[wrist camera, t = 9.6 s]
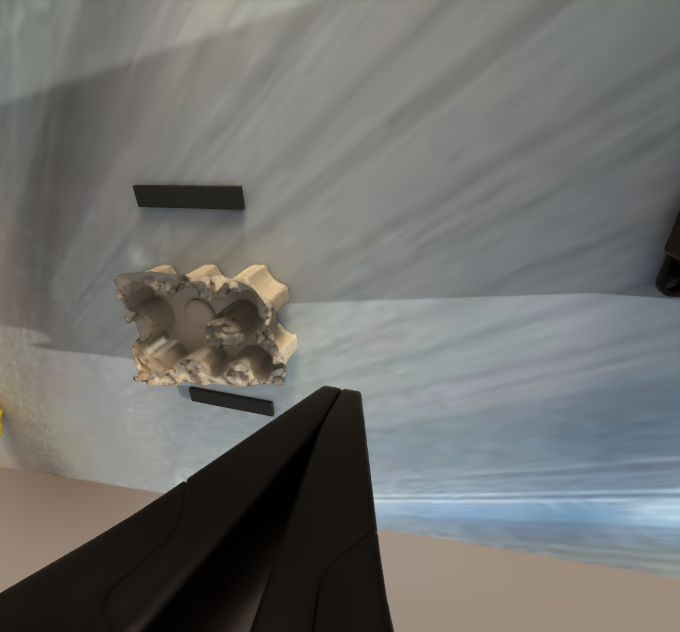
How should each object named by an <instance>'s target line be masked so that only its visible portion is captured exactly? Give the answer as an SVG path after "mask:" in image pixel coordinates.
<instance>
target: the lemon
mask: <svg viewBox="0 0 680 632" xmlns="http://www.w3.org/2000/svg"><path fill="white" fill-rule="evenodd" d="M2 414H3V411H2V410H1V409H0V435H1V432H2V421H1V417H2Z"/></svg>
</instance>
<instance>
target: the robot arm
mask: <svg viewBox="0 0 680 632" xmlns="http://www.w3.org/2000/svg"><path fill="white" fill-rule="evenodd" d="M665 251H666V252H667V256H666V258H665V261H664V263H663V266H662V268H661V271H660V273H659V276H658V278H657V281H656V288H657V289H658V290H659V291H660V292H662V293H663V294H664V295H666V296H670V297H680V211H679V213H678V216H677V218H676V221H675V223H674V226H673V228H672V231H671V233H670V236H669V238H668V241H667V243H666V246H665ZM673 280H678V281H677V284H676V285H675V286H673V287H670V288H667V285H668V284H669V283H670V282H671V281H673ZM0 632H394V630H393V625H392V620H391V616H390V611H389V606H388V602H387V597H386V590H385V584H384V578H383V570H382V564H381V557H380V548H379V540H378V534H377V525H376V516H375V507H374V499H373V490H372V482H371V473H370V465H369V456H368V448H367V439H366V431H365V422H364V413H363V405H362V396H361V393H360V392H359V391H354V390H348V389H344V390H341V389H340V388H336V387H330V386H323V387H321V388H320V389H318V390H317V391H315V392H314V393H312V394H311V395H309V396H308V397H306V398H305V399H303V400H302V401H301V402H299V403H298V404H296V405H295V406H293V407H292V408H290V409H289V410H287V411H286V412H284V413H283V414H281V415H280V416H279V417H277V418H276V419H274V420H273V421H271V422H270V423H268V424H267V425H265V426H264V427H262V428H261V429H260V430H258V431H257V432H255V433H254V434H252V435H251V436H249V437H248V438H246V439H245V440H243V441H242V442H240V443H239V444H238V445H236V446H235V447H233V448H232V449H230V450H229V451H227V452H226V453H224V454H223V455H221V456H220V457H218V458H217V459H216V460H214V461H213V462H211V463H210V464H208V465H207V466H205V467H204V468H202V469H201V470H199V471H198V472H197V473H195V474H194V475H192V476H191V477H189V478H188V479H187V482H182V483H180V484H179V485H177V486H176V487H174V488H173V489H171V490H170V491H168V492H167V493H166V494H164V495H163V496H161V497H159V498H158V499H156V500H155V501H153V502H152V503H150V504H149V505H147V506H146V507H144V508H143V509H141V510H140V511H138V512H137V513H135V514H134V515H132V516H130V517H129V518H127V519H125V520H124V521H122V522H120V523H119V524H117V525H115V526H114V527H112V528H110V529H109V530H108V531H105V532H104V533H102V534H101V535H99V536H97V537H96V538H94V539H92V540H90V541H89V542H87V543H86V544H84V545H82V546H80V547H78V548H77V549H75V550H73V551H72V552H70V553H68V554H66V555H65V556H63V557H61V558H60V559H58V560H56V561H55V562H53V563H51V564H49V565H48V566H46V567H44V568H42V569H41V570H39V571H37V572H36V573H34V574H32V575H30V576H29V577H27V578H25V579H23V580H22V581H20V582H18V583H17V584H15V585H13V586H11V587H10V588H8V589H6V590H5V591H3V592H2V593H0Z"/></svg>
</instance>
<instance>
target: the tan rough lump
mask: <svg viewBox="0 0 680 632" xmlns="http://www.w3.org/2000/svg"><path fill="white" fill-rule="evenodd" d="M114 281H115V283H116V286H117V299H118V300H122V301H123V303H124V306H125V308H126V315H125V317H124V319H125V321H126V322H127V323H130V322H132V321H133V320H135V322H136V325H137V327H138V330H139V332H140V334H141V337H140V338H138V339H137V340H136V342H135V343H134V345H133V348H132V353H133V358H134V360H135V363H136V364H137V371H138V376H137V377H134V379H133V380H135V381H138V382H147V383H146V384H150V385H154V384H159V385H161V386H166V385H167V386H170V385H175V386H176V385H179V384H181V383H183V382H193V383H197V384H199V385H207V384H210V383H212V384H228V385H231V386H234V387H238V386H250V385H256V384H267V383H270V382H272V383H274V384H276V385H285V383H284V378H285V376H286V373H287V371H286V366H285V364H286V363H287V361H288V360H289V358H290V357H291V356H292V355H293V353H294V352H295V351H296V350H297V349H298V346H297V340H296V338H297V336H296V334H293V333H290V332H289V331H286V330H285V329H284V328H283V327H282V325H281V324H280V323H279V322H278V319H277V312H278V311H279V310H280V309H281V308H282V307H283V306H284V305H285V304H286V303H287V302H289V294H288V288H287V286H286V285H283V284H281V283H279V282H278V281H276V280H275V279H274V278H273V277H272V276H271V275H270V273H269V271H268V268H267V266H266V265H252V266H250V267H248V268H247V269H245V270H244V271H242V272H241V273H240V274H238V275H236V276H235V277H234V278H232V279H230V278H228V277H225V276H223V275H222V273H221V272H220V270H219V269H218V267H217V265H203V266H201V267H199V268H198V269H196V270H194V271H192V272H190V273H189V274H185V275H184V274H177V273H176V271H175V270H174V268H173V267H172V266H171V265H162V266H156V267H154V268H152V269H150V270H148V271H146V272H138V273H126V274H120V275H118V276H117V277H116V278H115V279H114Z"/></svg>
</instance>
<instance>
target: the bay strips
mask: <svg viewBox="0 0 680 632" xmlns="http://www.w3.org/2000/svg"><path fill="white" fill-rule="evenodd" d="M133 189H134V192H135V196H136V200H137V203H138V206H139V207H168V208H202V209H237V210H243V209H245V206H244V199H243V192H242V186H201V185H133ZM189 392H190V396H191V399H192V401H195V402H200V403H206V404H211V405H216V406H221V407H226V408H231V409H236V410H241V411H247V412H252V413H257V414H262V415H267V416H272V417H273V416H274V407H273V402H272V401H267V400H261V399H256V398H250V397H245V396H239V395H234V394H228V393H223V392H217V391H212V390H206V389H201V388H195V387H190V388H189Z"/></svg>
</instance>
